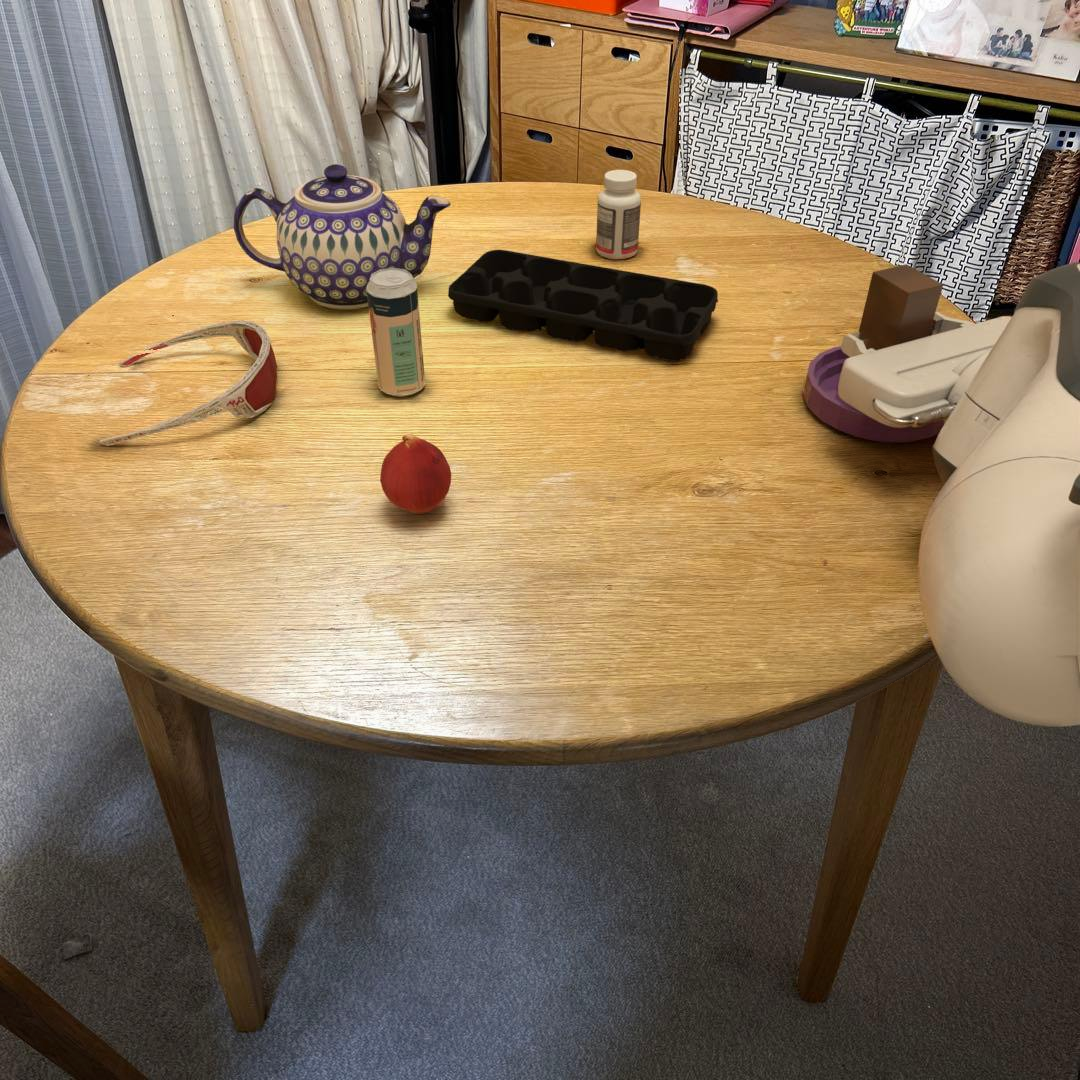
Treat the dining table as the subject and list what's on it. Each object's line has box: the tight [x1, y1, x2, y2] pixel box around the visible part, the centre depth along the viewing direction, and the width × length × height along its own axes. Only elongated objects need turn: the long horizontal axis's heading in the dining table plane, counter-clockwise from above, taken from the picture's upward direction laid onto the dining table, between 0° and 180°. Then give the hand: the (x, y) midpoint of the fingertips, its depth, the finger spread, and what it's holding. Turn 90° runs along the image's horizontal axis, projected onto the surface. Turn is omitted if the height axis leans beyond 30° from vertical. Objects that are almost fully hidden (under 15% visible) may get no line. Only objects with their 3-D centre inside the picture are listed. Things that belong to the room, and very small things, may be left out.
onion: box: [379, 433, 452, 515], centre depth 80 cm, size 6×6×8 cm
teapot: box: [233, 163, 452, 311], centre depth 110 cm, size 25×15×15 cm, turn 85°
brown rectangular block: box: [837, 263, 944, 391], centre depth 91 cm, size 6×4×13 cm
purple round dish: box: [802, 345, 944, 443], centre depth 94 cm, size 14×14×3 cm
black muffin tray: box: [447, 249, 719, 362], centre depth 108 cm, size 18×30×4 cm, turn 79°
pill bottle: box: [595, 169, 642, 260], centre depth 120 cm, size 5×5×10 cm
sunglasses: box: [98, 320, 278, 447], centre depth 96 cm, size 17×17×5 cm
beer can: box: [366, 268, 426, 398], centre depth 94 cm, size 5×5×12 cm
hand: (887, 329), depth 91 cm, fingers open, 8 cm apart
